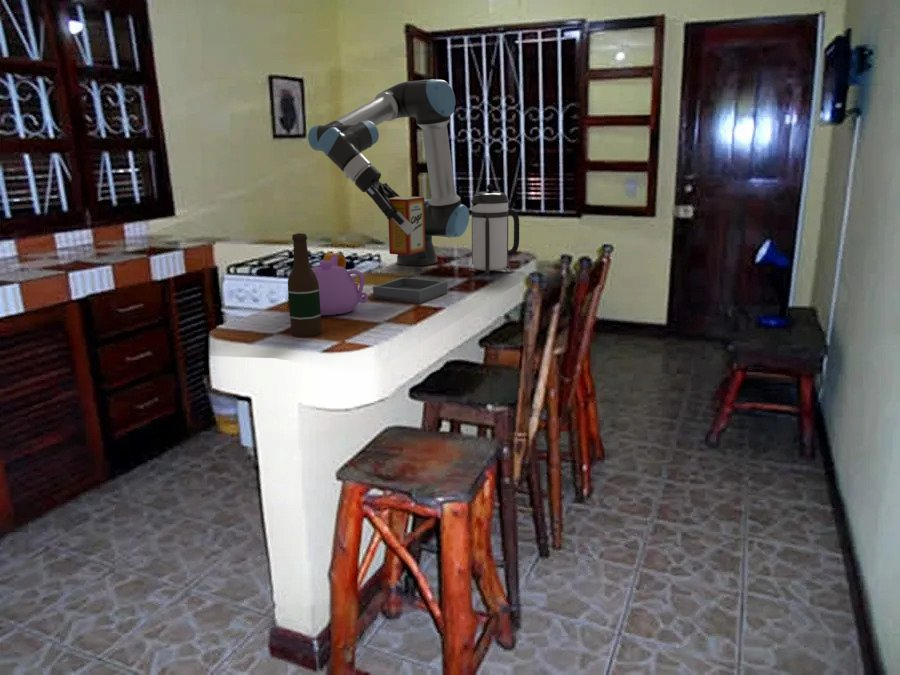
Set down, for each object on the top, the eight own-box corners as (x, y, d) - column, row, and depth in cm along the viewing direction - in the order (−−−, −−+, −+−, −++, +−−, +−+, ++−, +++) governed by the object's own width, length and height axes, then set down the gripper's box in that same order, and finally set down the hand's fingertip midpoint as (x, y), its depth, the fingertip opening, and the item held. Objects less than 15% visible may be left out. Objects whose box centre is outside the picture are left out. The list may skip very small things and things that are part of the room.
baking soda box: (406, 249, 209) (405, 195, 205) (425, 250, 206) (424, 195, 202) (389, 253, 201) (387, 197, 197) (408, 255, 198) (407, 198, 194)
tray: (403, 288, 219) (402, 277, 218) (447, 292, 211) (447, 281, 210) (373, 298, 205) (372, 286, 204) (419, 303, 198) (419, 291, 197)
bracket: (338, 297, 207) (336, 257, 204) (319, 295, 211) (316, 256, 207) (359, 290, 216) (357, 252, 213) (340, 288, 220) (338, 250, 216)
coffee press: (509, 276, 234) (510, 185, 226) (463, 275, 238) (462, 185, 230) (519, 267, 250) (520, 182, 242) (475, 266, 254) (475, 182, 246)
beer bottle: (285, 337, 166) (276, 236, 159) (297, 328, 173) (289, 231, 166) (316, 338, 164) (309, 236, 158) (327, 329, 172) (321, 231, 165)
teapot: (375, 300, 203) (372, 252, 199) (364, 318, 182) (362, 266, 178) (299, 300, 204) (296, 253, 200) (280, 319, 183) (276, 267, 179)
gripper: (367, 181, 213) (418, 233, 214) (340, 185, 191) (396, 243, 192) (383, 163, 210) (434, 215, 211) (357, 165, 188) (414, 224, 189)
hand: (416, 229), depth 201 cm, fingers closed on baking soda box, 11 cm apart
